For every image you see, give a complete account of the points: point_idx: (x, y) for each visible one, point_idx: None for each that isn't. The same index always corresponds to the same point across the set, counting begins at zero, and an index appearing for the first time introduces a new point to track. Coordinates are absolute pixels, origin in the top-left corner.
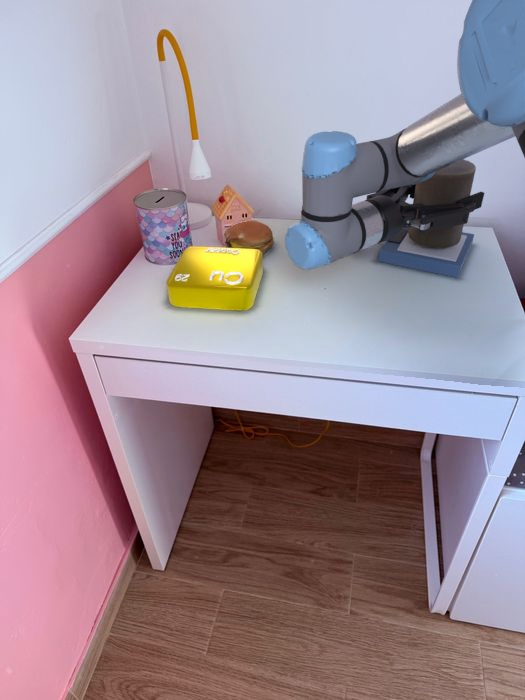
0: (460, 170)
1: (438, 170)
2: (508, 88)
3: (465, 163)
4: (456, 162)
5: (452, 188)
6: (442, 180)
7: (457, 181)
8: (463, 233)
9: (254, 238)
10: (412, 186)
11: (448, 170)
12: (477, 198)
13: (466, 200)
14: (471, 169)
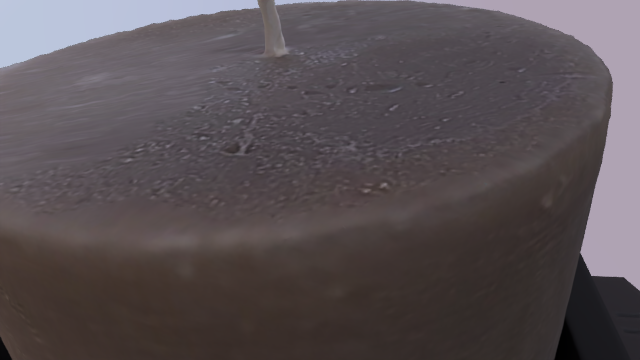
0: (492, 62)
1: (290, 156)
2: None
3: (378, 10)
4: (311, 21)
5: (555, 307)
6: (461, 296)
7: (588, 203)
8: None
9: None
10: (4, 357)
11: (395, 105)
12: None
13: (604, 312)
14: (530, 27)
